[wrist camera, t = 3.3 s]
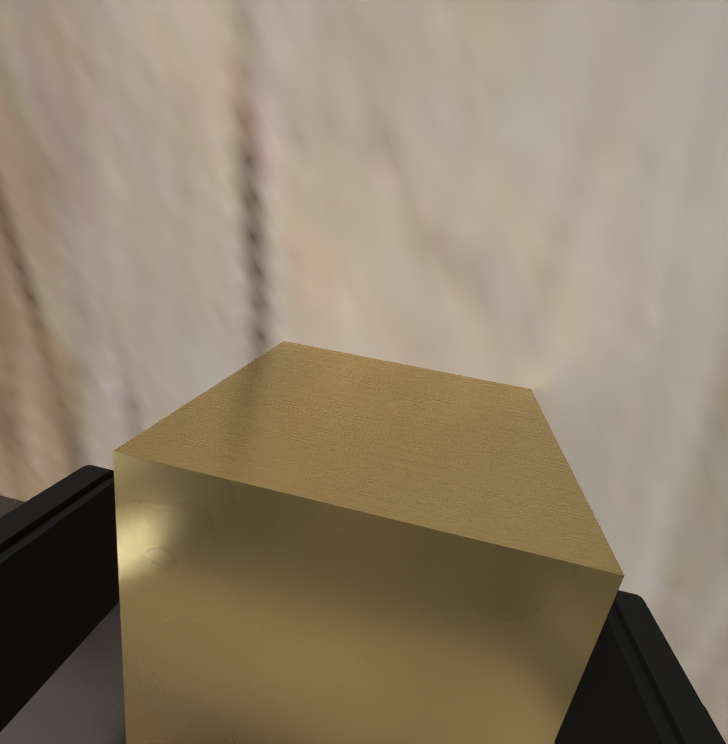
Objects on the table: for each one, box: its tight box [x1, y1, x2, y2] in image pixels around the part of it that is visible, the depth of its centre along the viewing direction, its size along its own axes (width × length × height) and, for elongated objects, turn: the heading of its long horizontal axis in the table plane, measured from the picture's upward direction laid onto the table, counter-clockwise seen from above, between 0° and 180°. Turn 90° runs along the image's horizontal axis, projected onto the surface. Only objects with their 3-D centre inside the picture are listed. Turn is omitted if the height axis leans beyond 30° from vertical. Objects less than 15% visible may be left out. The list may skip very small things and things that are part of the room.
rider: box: [113, 341, 624, 744], centre depth 9 cm, size 6×6×6 cm
